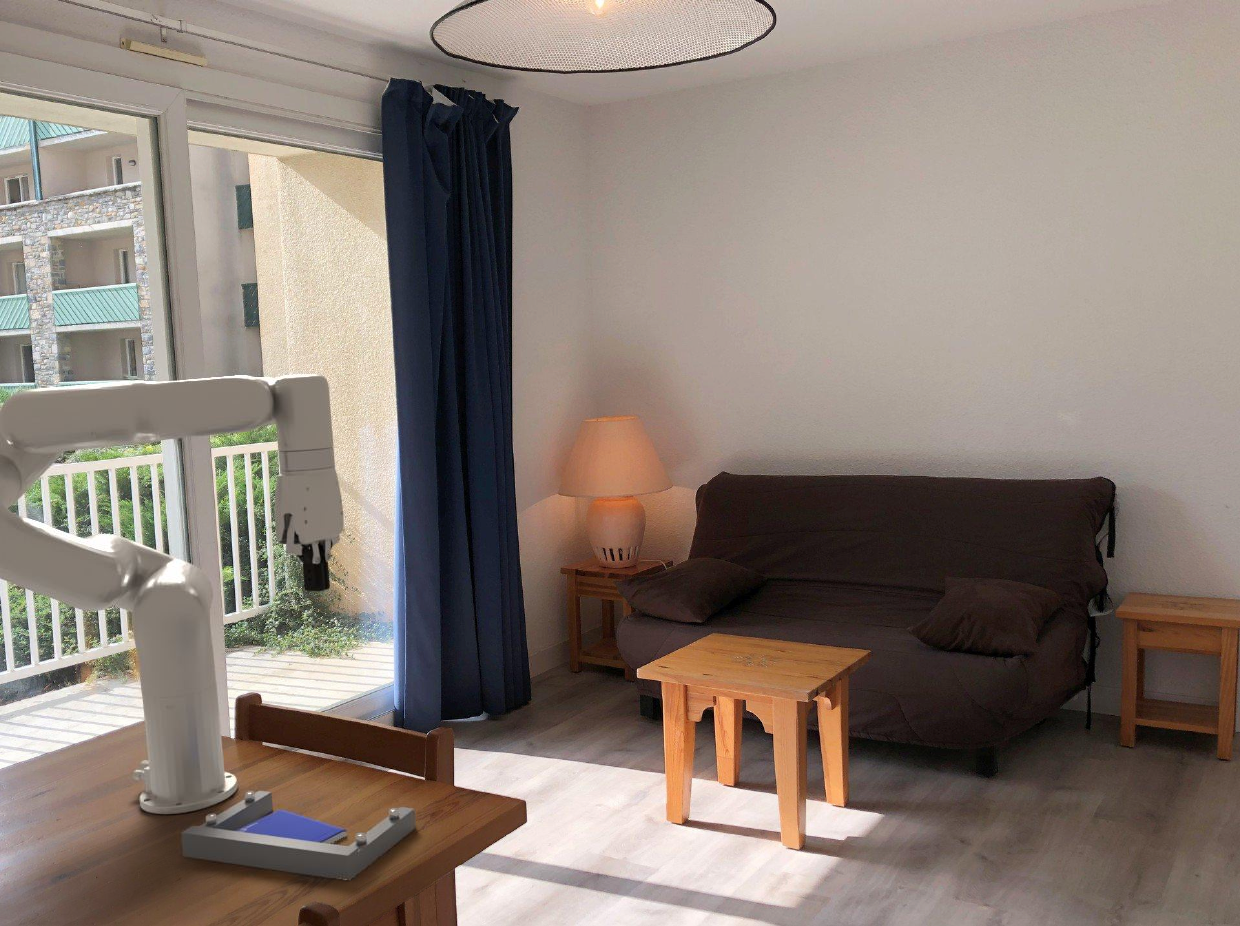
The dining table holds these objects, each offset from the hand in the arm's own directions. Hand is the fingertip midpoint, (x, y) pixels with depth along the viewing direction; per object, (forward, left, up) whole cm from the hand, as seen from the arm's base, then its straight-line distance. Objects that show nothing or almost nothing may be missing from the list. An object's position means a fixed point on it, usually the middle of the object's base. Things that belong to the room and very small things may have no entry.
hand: (317, 589), depth 147 cm
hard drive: (+8, -19, -28) cm, 35 cm away
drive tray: (+10, -20, -27) cm, 35 cm away
